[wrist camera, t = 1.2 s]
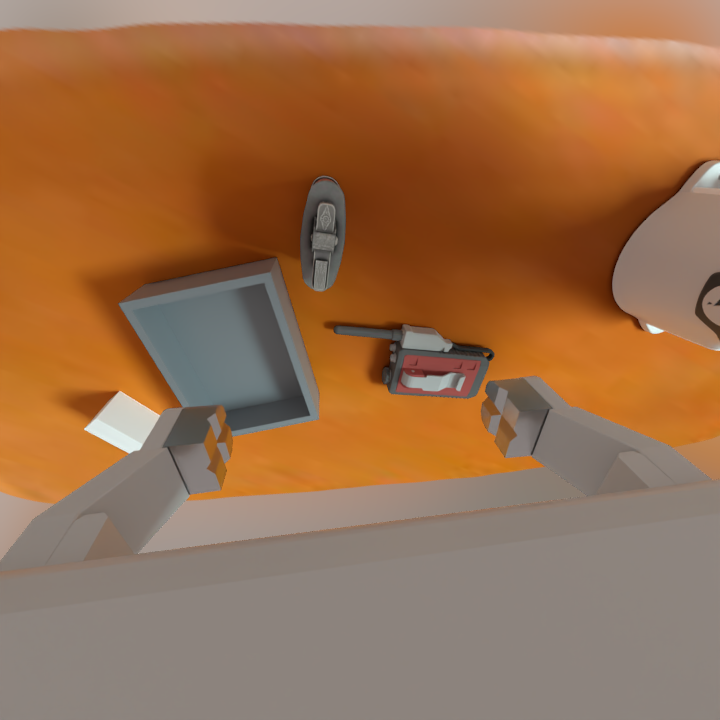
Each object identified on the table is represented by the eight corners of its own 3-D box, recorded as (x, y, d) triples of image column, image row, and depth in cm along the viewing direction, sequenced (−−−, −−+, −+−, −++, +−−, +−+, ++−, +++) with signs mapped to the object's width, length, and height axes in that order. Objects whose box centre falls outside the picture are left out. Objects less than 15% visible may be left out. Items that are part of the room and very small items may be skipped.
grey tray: (276, 257, 32) (270, 272, 28) (319, 392, 42) (318, 419, 38) (144, 284, 33) (118, 303, 28) (216, 413, 42) (204, 442, 38)
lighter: (308, 172, 29) (302, 179, 20) (345, 179, 29) (355, 188, 21) (302, 262, 33) (295, 299, 25) (335, 267, 34) (339, 304, 25)
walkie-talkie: (496, 331, 40) (334, 315, 37) (513, 349, 36) (335, 333, 33) (472, 388, 45) (326, 378, 41) (486, 409, 41) (327, 400, 38)
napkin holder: (84, 381, 38) (50, 413, 34) (185, 376, 39) (165, 407, 34) (131, 466, 46) (108, 502, 41) (213, 460, 47) (201, 495, 42)
